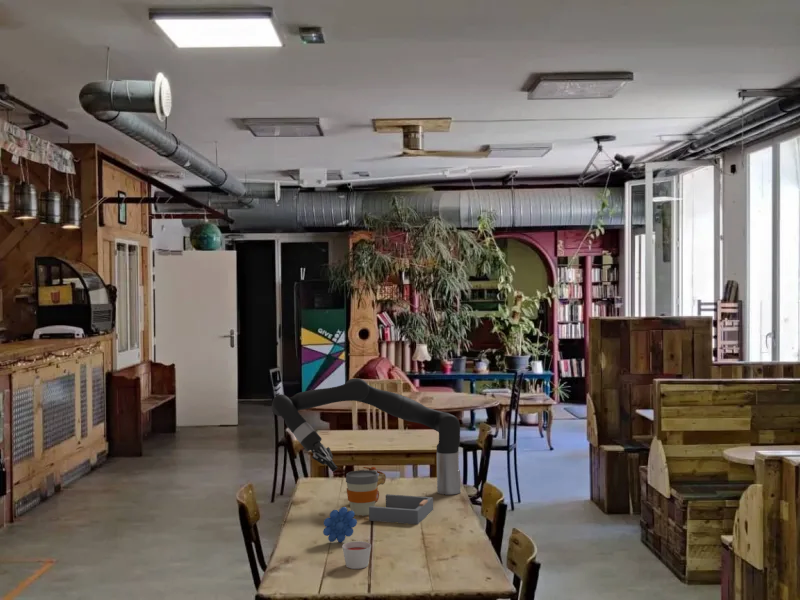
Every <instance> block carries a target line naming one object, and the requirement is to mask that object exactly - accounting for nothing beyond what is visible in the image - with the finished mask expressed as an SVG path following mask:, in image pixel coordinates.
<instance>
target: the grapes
mask: <svg viewBox="0 0 800 600" xmlns="http://www.w3.org/2000/svg"><path fill="white" fill-rule="evenodd" d="M355 516H356V515H355V513H354V511H351V510H348V509H347V507H345V506H342V507H340V508H339V510H338V509H332V510H331V511H330V513H329V517H326V518H325V519H324V520H323V525H324V528H323V531H322V534H323V535H324V536H325V537H327V536H328V537H327V539H328V541H329V543H330V542H331V543H334V542H335V541H336V540H337V542H338V543H343V542H344V541H345V540H346V537H351V536H352V535H353V534H354V528H355V527H356V526H357V525H358V520H357V519H356V518H354V517H355Z"/></svg>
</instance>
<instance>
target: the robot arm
mask: <svg viewBox="0 0 800 600" xmlns="http://www.w3.org/2000/svg"><path fill="white" fill-rule="evenodd" d="M350 401H351V402H352V401H353V402H359V403H364V404H366V405H370V406H372V407H375V408H376V409H378V410H380V411H382V412H384V413H386V414H389V415H390V416H393V417H396V418H399V419H401V420H404V421H407V422H410V423H417V424H421V425H424V426H426V427H428V428H430V429H432V430H434V431H436V432H437V433H438V443H437V445H436V485H437V486H436V489H437V494H440V495H444V494H445V495H447V496H449V495H450V496H452V495H457V494H461V493H462V492H461V490H462V489H461V470H460V469H459V468H460V466H459V463H460V461H459V459H460V458H459V453H460V452H459V447H460V446H461V444H460V443H461V424H460V420H459V418H458V417H457V416H455V415H453V414H451V413H449V412H445V411H439V410H437V409H433V408H430V407H427V406H426V405H424V404H422V403H421V402H419V401H416V400H414V399H413V398H409V397H407V396H404V395H402V394H399V393H395V392H392V391H389V390H383V389H381V388H376V387H374V386H372V385H370V384H369V383H367V381H366V380H363V379H362V378H356V377H355V378H350V379H348V380H346V382H345V383H344V384H342V385H341V384H340V385H337V386H333V387H327V388H316V389H311V390H305V391H301V392H298V393H296V394H294V395H293V396H290V397H289V396H287V395H286V394H281V393H280V394H276V396H274V398H273V399H272V404H271V412H272V414H274V415H276V416H277V417H282V419H283V420H284V424H285V426H286V427H287V428H288V429H289V431H290V432H291V433H292V434H293V436H294V437H295V439H296V440H297V441H298V443H300V445H301V447H303V448H304V450H305V451H306V452H311V453H312V454H313V455H312V456H311V457H312V459H314V460H315V461H317V462H318V463H320V464H321V465H325V466H327V467H328V468H329V469H330V470H331V471H332V472H336V471H337V470H338V468H339V467H338V466H337V464H336V463H335V462H334V461H333V459H334V455H333V454H332V451H331V448H330V447H329V446H327V447H326V446H325V445H324V444H323V443H321V442H322V440H323V439H322V437H321V436H320V434H318V432H317V431H316V430H315V429H314V428H313V427H312V425H311V424H309V423H308V421H306V419H305V417H303V416H302V415H301V414H300V412H299V411H303V410H308V409H314V408H316V407H317V408H318V407H322V406H325V405H330V404H333V403H341V402H350Z"/></svg>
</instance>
